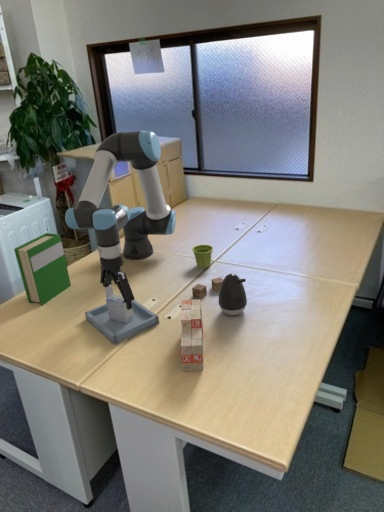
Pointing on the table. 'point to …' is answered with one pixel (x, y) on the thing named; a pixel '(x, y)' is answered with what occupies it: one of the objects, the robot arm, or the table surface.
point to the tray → (119, 329)
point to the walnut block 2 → (217, 283)
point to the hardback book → (43, 268)
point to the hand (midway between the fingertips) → (119, 308)
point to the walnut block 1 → (199, 291)
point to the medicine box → (117, 309)
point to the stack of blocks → (192, 335)
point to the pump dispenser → (232, 295)
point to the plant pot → (203, 255)
